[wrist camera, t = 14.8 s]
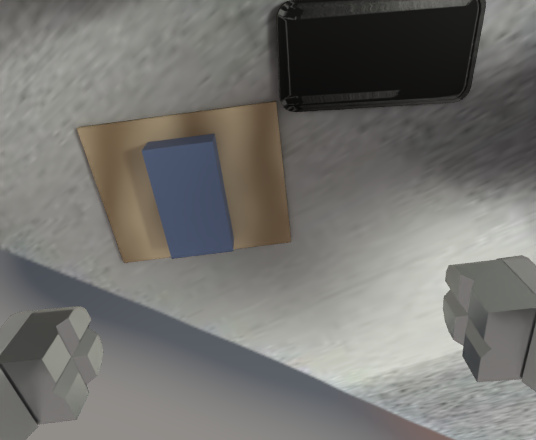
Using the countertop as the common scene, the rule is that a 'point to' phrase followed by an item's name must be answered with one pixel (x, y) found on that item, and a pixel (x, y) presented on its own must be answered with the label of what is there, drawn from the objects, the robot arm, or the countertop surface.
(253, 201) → the mat
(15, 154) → the countertop surface
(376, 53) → the phone
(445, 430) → the countertop surface
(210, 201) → the box
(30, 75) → the countertop surface
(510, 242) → the countertop surface
